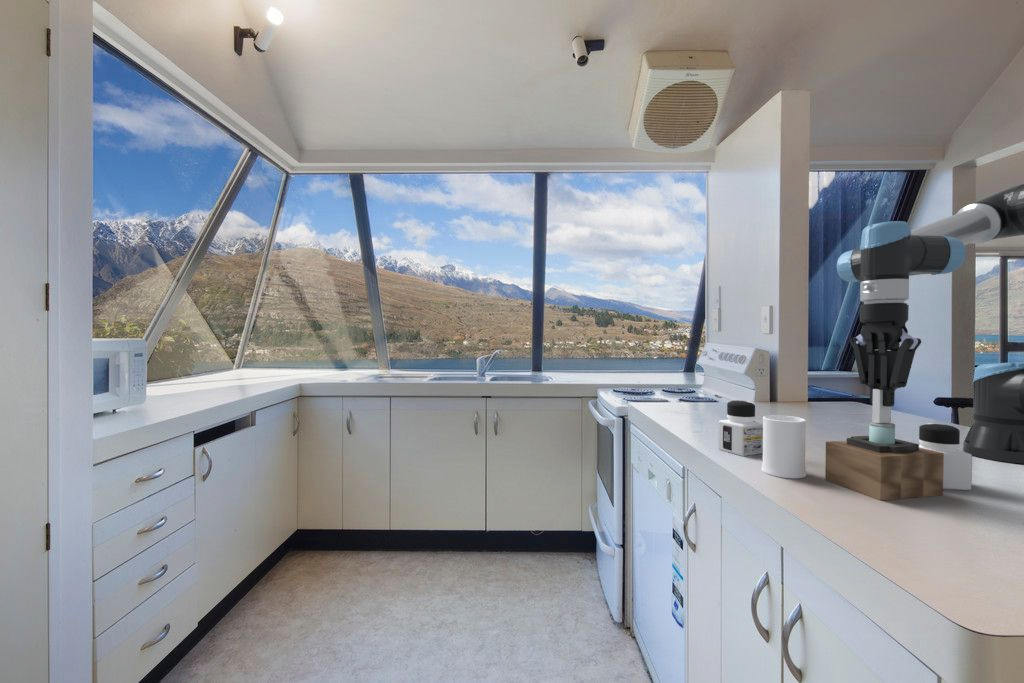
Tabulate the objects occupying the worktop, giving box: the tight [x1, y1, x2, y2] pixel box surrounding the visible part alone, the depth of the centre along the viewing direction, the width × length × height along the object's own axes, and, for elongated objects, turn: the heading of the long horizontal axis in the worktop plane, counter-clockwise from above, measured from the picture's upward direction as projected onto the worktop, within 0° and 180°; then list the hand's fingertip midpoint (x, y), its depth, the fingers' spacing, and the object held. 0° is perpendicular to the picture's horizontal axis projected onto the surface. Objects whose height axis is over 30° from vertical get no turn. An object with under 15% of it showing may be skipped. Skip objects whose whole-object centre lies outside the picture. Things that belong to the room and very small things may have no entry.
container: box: [717, 399, 763, 457], centre depth 120 cm, size 8×8×13 cm
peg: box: [868, 420, 896, 445], centre depth 92 cm, size 4×4×9 cm
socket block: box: [824, 435, 944, 501], centre depth 92 cm, size 14×12×9 cm
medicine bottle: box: [918, 422, 973, 491], centre depth 94 cm, size 7×7×12 cm
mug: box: [761, 414, 807, 480], centre depth 104 cm, size 12×8×12 cm
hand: (881, 421), depth 92 cm, fingers closed
